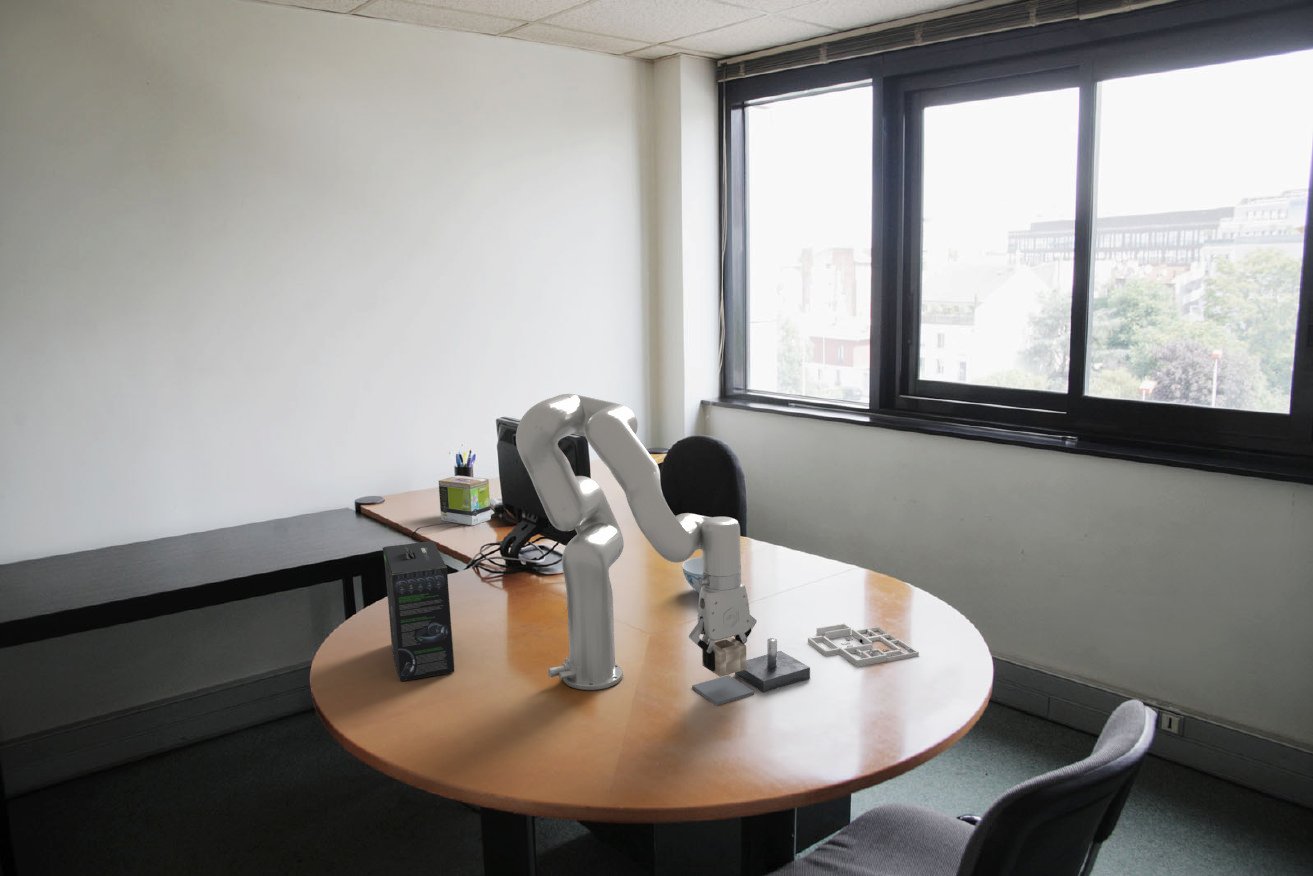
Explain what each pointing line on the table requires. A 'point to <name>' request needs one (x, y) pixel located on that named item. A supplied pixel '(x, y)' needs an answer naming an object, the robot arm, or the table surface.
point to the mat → (722, 690)
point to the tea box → (464, 500)
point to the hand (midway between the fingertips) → (724, 663)
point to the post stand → (773, 669)
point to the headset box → (419, 610)
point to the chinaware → (693, 572)
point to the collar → (728, 656)
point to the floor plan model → (862, 649)
